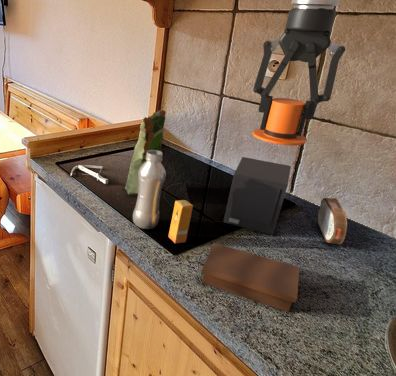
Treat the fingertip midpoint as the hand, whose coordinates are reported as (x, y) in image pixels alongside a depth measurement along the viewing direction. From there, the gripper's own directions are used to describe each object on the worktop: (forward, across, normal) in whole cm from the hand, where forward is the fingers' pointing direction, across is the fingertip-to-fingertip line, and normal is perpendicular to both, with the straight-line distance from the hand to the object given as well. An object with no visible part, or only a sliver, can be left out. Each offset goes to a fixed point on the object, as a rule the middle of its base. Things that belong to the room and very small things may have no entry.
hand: (280, 130), depth 83 cm
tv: (+29, -2, +17) cm, 34 cm away
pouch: (+29, -32, +14) cm, 46 cm away
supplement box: (+29, -16, -5) cm, 33 cm away
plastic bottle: (+29, -25, -3) cm, 38 cm away
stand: (+29, +2, -14) cm, 32 cm away
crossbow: (+29, -51, +18) cm, 61 cm away
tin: (+29, +16, +18) cm, 38 cm away
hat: (+1, 0, 0) cm, 1 cm away
